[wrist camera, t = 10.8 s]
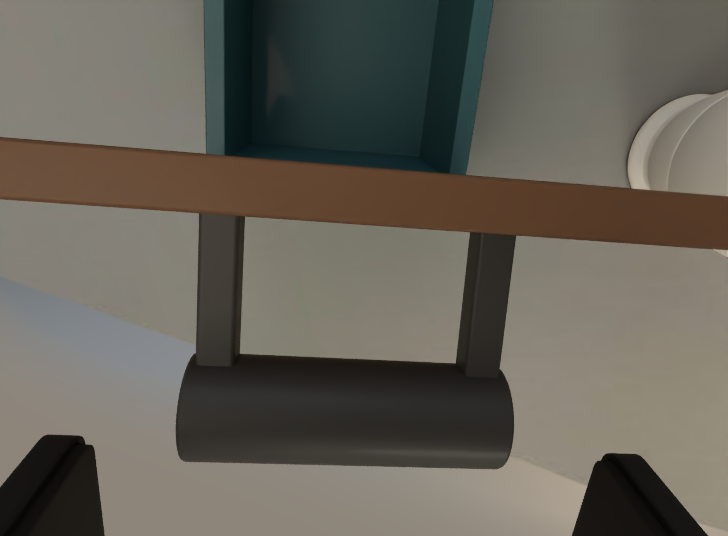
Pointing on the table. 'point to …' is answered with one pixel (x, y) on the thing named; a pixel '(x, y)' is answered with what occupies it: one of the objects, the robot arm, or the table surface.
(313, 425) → the toy box lid
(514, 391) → the table surface
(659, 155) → the jar
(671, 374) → the table surface
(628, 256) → the table surface
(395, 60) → the toy box
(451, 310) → the table surface
